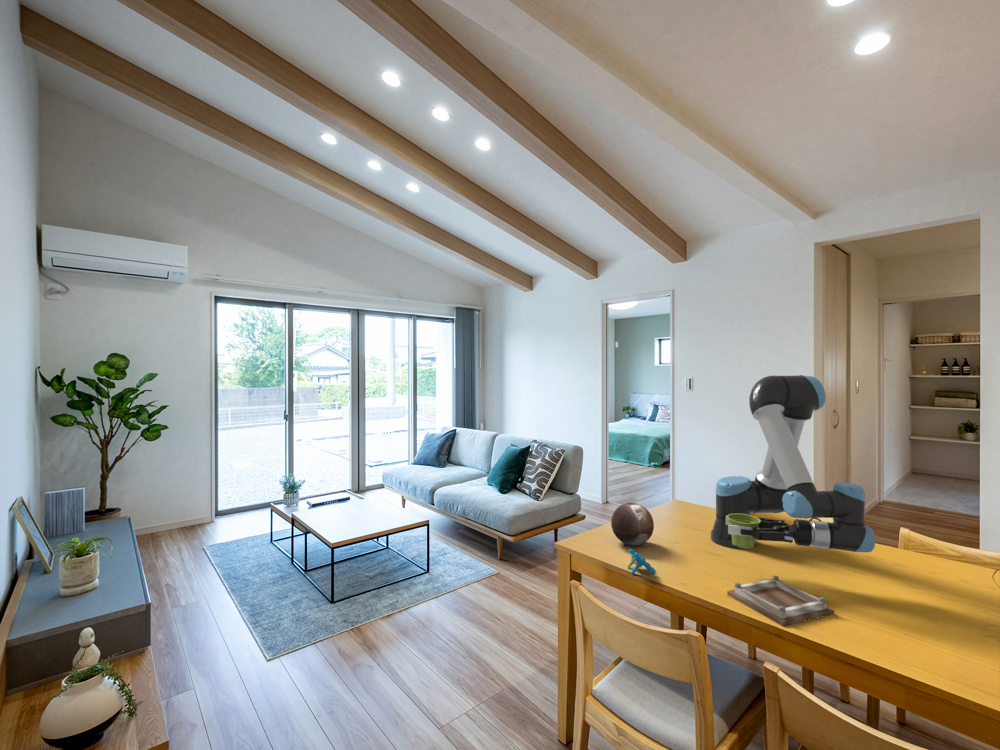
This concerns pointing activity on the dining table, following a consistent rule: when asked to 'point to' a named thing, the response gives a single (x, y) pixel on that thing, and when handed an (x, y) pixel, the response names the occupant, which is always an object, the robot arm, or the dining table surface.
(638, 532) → the wooden sphere
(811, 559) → the dining table surface
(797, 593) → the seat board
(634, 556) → the blue plastic toy
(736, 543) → the plant pot
